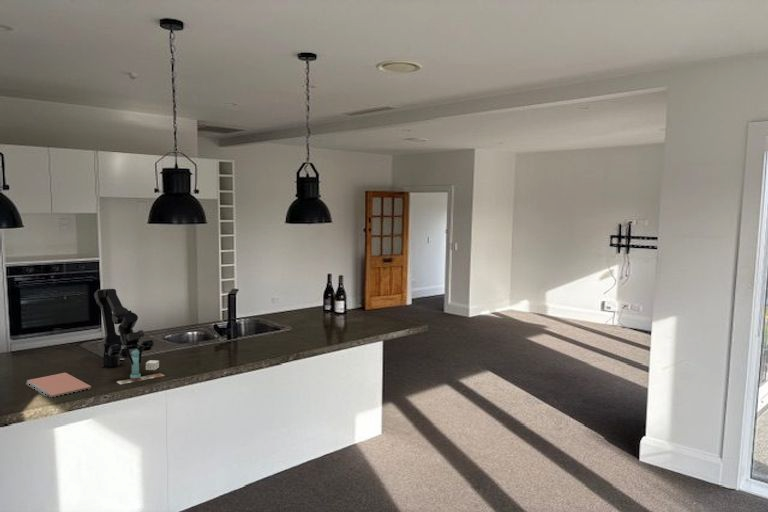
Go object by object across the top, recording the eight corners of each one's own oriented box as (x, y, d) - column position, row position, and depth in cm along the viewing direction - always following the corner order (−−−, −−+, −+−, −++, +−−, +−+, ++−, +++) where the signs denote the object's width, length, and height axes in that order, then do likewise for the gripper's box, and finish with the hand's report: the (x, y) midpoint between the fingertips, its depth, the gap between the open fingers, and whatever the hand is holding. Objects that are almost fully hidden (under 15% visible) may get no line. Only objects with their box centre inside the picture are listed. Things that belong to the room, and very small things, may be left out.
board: (119, 388, 238) (119, 385, 238) (114, 384, 242) (114, 381, 242) (166, 378, 252) (166, 375, 252) (160, 375, 257) (160, 372, 257)
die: (145, 372, 260) (145, 362, 259) (149, 369, 264) (149, 360, 264) (155, 372, 260) (155, 363, 259) (158, 369, 264) (158, 360, 264)
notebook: (24, 384, 239) (24, 380, 239) (65, 376, 253) (65, 371, 252) (48, 400, 223) (48, 395, 222) (91, 390, 236) (91, 385, 236)
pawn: (127, 377, 244) (127, 350, 242) (134, 374, 248) (134, 347, 247) (136, 378, 243) (135, 351, 241) (142, 376, 247) (142, 348, 246)
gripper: (109, 327, 239) (119, 357, 233) (152, 322, 252) (162, 350, 246) (104, 341, 246) (112, 371, 239) (145, 335, 259) (155, 363, 252)
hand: (136, 363), depth 244 cm, fingers closed on pawn, 3 cm apart
